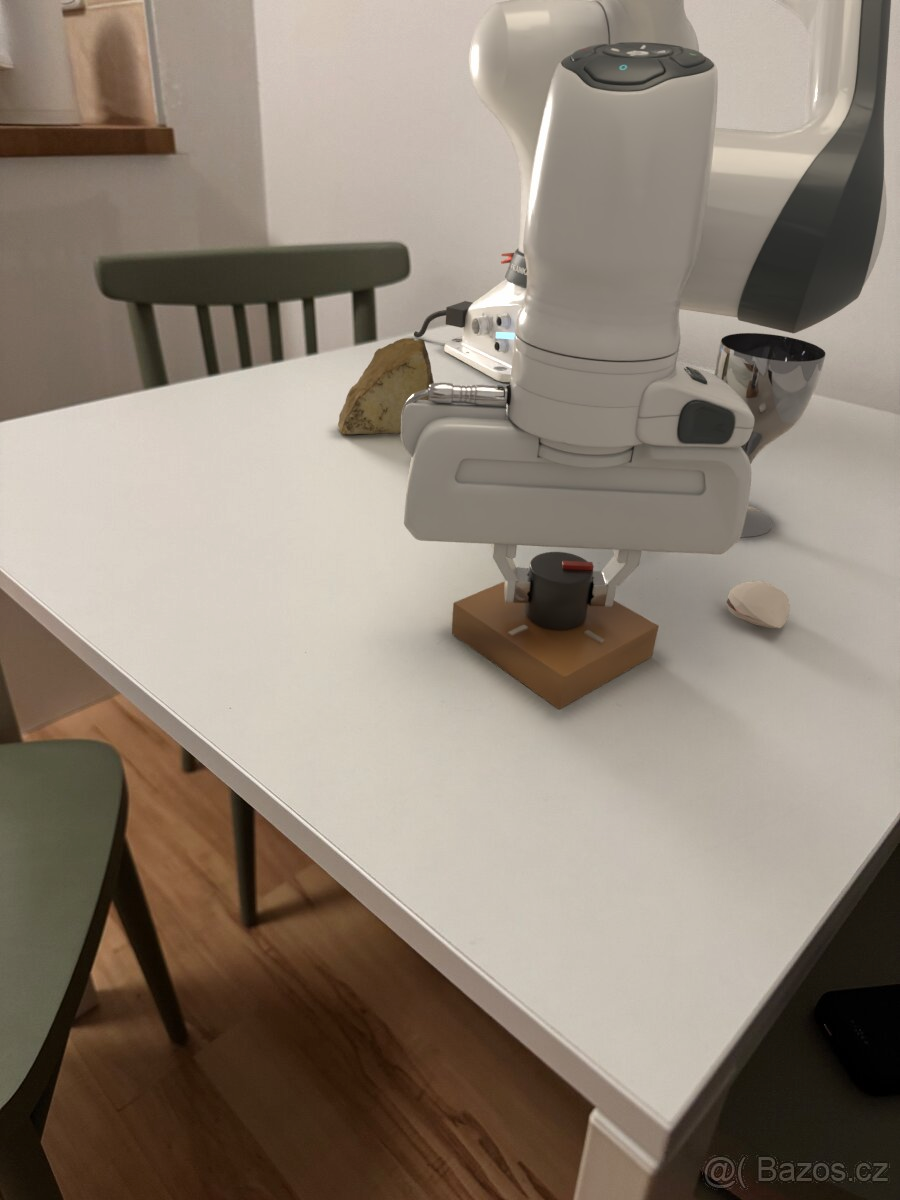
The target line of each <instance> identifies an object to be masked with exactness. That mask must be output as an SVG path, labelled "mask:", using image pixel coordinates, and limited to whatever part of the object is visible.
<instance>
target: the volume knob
mask: <svg viewBox="0 0 900 1200" xmlns="http://www.w3.org/2000/svg"><path fill="white" fill-rule="evenodd" d="M528 568H529V577H530V580H531V586H530V591H529V592H528V593H529V601H528V603H525V614H526V616H527V617H528V619H529V620H530V621H532V622H533V623H535V624H537V625H539V626H541V627H544V628H547V629H553V630H568V629H573V628H576V627H578V626H580V625H581V624H582V623H583V622H584V621H585V619H586V614H587V608H588V601H589V595H590V589H591V583H592V577H593V571H594V562H593V561H587V560H586V559H585V558H583V557H581V556H579V555H578V554H577V555H576V554H573V553H570V552H564V551H548V552H542V553H539V554H537V555H535V556H534V557H532V559H531V560H530V562H529V567H528Z"/></svg>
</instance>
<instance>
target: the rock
mask: <svg viewBox="0 0 900 1200" xmlns="http://www.w3.org/2000/svg"><path fill="white" fill-rule="evenodd" d="M433 383H435V382H434V377H433V372H432V364H431V360H430V357H429V352H428V350H427V347H426V342H425V340H424V339H422V338H421V339H415V338H413V337H411V338H409V337H404V338H399V339H397V340H395V341H394V342H392V343H389V344H387V345H386V346H383V347H381V348H378V349H376V351H375V352H374V354H373V357H372V359H371V360H370V363H368V365H367V367H366V368H365V369H364V371H363V372H362V375H361V376H360V377H359V378H358V381H357V382H356V383H355V384H354V385H352V387H351V388H349V391H348V393H347V395H346V397H345V402H344V404H343V407H342V409H341V411H340V413H339V415H338V422H337V427H338V429H339V432H340V434H341V435H377V434H401V414H402V409H403V406H404V404H405V403H406V401H407V400H408V399H409V398H410V397H411V396H412V395H413V394H415V393H417V392H419V391H422V390H426V389H429V385H430V384H433ZM419 400H427V401H429V397H424V398H421V399H419Z"/></svg>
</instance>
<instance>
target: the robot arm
mask: <svg viewBox="0 0 900 1200" xmlns="http://www.w3.org/2000/svg"><path fill="white" fill-rule="evenodd" d="M772 1H774V2H775V3H776V4H778V5H780V6H782V7H784V8H785V9H786V10H787V11H789V12H790V13H792V14H793V15H794V16H795V17H796V18H797V19H798V20H799V21H800V22H801V24H802V25H803V27H804V29H805V31H806V34H807V37H808V57H807V58H808V59H807V72H806V73H807V74H806V90H805V101H804V115H803V116H804V118H803V125H800V126H798V127H796V128H793V129H788V130H783V131H765V130H763V131H762V130H749V129H738V128H736V129H735V128H724V127H716V123H717V112H718V111H717V110H718V109H717V108H718V91H719V90H718V89H719V88H718V86H719V80H718V78H719V77H718V69H717V66H716V64H715V63H714V62H713V61H712V60H711V59H710V58H709V57H707V56H705V55H704V54H703V53H702V52H700V46H699V40H698V37H697V33H696V31H695V29H694V26H693V25H692V23H691V21H690V20H689V17H688V16H687V14H686V11H685V0H504V1H500V2H495V3H493V4H491V5H490V6H489V7H488V8H487V10H486V11H485V12H484V13H483V15H482V16H481V17H480V19H479V21H478V22H477V25H476V26H475V29H474V31H473V34H472V38H471V42H470V46H469V54H468V67H469V75H470V80H471V83H472V86H473V89H474V91H475V93H476V95H477V97H478V98H479V100H480V102H481V103H482V104H483V106H484V107H485V108H486V109H487V110H488V111H489V112H490V113H491V114H492V115H493V116H494V117H495V118H496V120H497V121H498V123H499V124H500V125H501V127H502V128H503V129H504V132H505V133H506V135H507V137H508V139H509V141H510V144H511V146H512V148H513V151H514V153H515V156H516V160H517V165H518V170H519V177H520V218H519V219H520V221H519V235H518V248H516V249H515V251H514V252H507V253H502V254H501V255H500V256H501V257H508V258H505V259H503V260H500V263H501V264H502V265H503V264H509V265H508V267H507V269H506V273H505V275H504V279H503V280H502V281H500V282H499V283H498V284H497V285H495V286H494V287H492V289H489V291H487V292H485V294H483V295H482V296H480V297H479V298H478V299H476V300H475V301H474V302H473V301H467V300H463V301H461V302H457V303H454V304H452V305H449V306H446V308H445V309H442V310H438V311H434V312H432V313H430V314H429V315H428V316H426V318H425V319H424V321H423V323H422V326H421V328H420V329H419V331H414V332H413V336H414V337H415V338H419V339H420V338H421V337H423V336H424V335H425V333H426V331H427V330H428V327H429V325H430V323H431V322H432V321H433V320H435V319H437V318H441V317H445V325H446V326H451V327H456V328H460V329H463V330H462V335H461V336H458V337H454V338H453V339H450V340H448V341H447V342H445V344H444V348H443V349H444V350H443V351H444V352H445V353H447V354H449V355H450V356H452V357H454V358H456V359H458V360H460V361H461V362H463V363H464V364H466V365H469V366H470V367H472V368H473V369H476V370H477V371H479V372H480V373H483V374H484V375H486V376H488V377H490V378H492V379H493V380H495V381H498V382H501V383H509V384H508V385H501V384H498V385H493V384H472V385H460V384H458V385H457V384H453V383H450V382H434V383H433V384H430V385H429V389H426V390H422V391H419V392H417V393H415V394H413V395H412V396H411V397H410V398H409V399H408V400H407V401H406V403H405V404H404V406H403V409H402V414H401V433H400V440H401V445H402V446H403V448H404V450H405V451H406V453H407V454H408V455H409V456H410V461H409V468H408V475H407V480H406V481H407V482H406V489H405V498H404V499H405V500H404V513H403V525H404V527H405V529H406V530H407V531H408V532H409V533H410V535H411V536H412V537H413V538H414V539H415V540H417V541H422V542H439V543H440V542H441V543H461V544H462V543H464V544H481V545H482V544H487V545H491V551H492V552H491V553H492V559H493V560H494V562H495V564H496V565H497V567H498V569H499V571H500V573H501V575H502V576H503V578H504V581H505V584H504V596H505V602H510V603H528V601H529V593H528V592H529V591H530V586H531V580H530V577H529V567H517V566H516V563H515V562H514V560H513V559H515V558H516V555H517V547H518V546H527V547H528V546H529V547H550V548H551V547H552V548H571V549H592V550H612V551H613V554H614V555H613V556H612V557H611V558H610V560H609V561H608V562H607V564H606V565H605V566H604V567H603V568H602V570H593V577H592V583H591V589H590V595H589V601H588V604H589V606H604V607H612V605H613V601H615V597H616V590H617V587H619V586H620V585H621V584H622V583H623V582H624V580H626V579H627V577H628V576H630V574H632V573H633V571H634V570H635V569H636V568H637V567H638V566H639V565H640V560H641V556H642V552H657V553H679V554H703V555H722V554H724V553H726V552H727V551H729V550H730V549H731V548H732V547H733V546H735V545H736V544H737V543H738V542H739V541H740V540H741V538H742V537H741V534H742V530H743V527H744V523H745V518H746V513H747V508H748V505H749V502H750V494H751V485H752V466H751V465H752V463H751V464H750V461H749V458H748V456H747V455H746V453H745V452H744V450H743V449H742V448H741V446H743V445H744V444H746V443H747V441H748V440H749V438H750V436H751V434H752V430H753V427H754V416H753V414H752V412H751V410H750V408H749V407H748V405H747V404H746V402H745V401H744V400H743V399H742V397H741V396H740V395H739V394H738V393H737V392H736V391H735V390H734V389H733V388H732V387H731V386H730V385H728V384H727V383H726V382H725V381H723V380H722V379H721V378H719V377H718V376H716V375H714V373H712V372H709V371H707V370H704V369H702V368H699V367H696V366H694V365H692V364H689V363H686V362H683V361H680V360H678V357H679V356H678V355H679V351H680V346H681V338H682V337H681V325H680V310H683V311H689V312H695V313H696V312H697V313H703V314H711V315H716V316H725V317H731V318H737V320H738V321H740V322H744V323H747V324H748V323H749V324H753V325H757V326H759V327H760V326H761V327H765V328H769V329H773V330H777V331H782V332H786V333H789V334H796V333H799V332H802V331H804V330H806V329H809V328H810V327H813V326H815V325H817V324H820V323H821V322H823V321H825V320H827V319H828V318H830V317H833V316H834V315H835V314H837V313H839V312H841V311H842V310H844V309H845V308H846V307H847V306H849V305H851V304H852V303H853V302H854V301H856V300H857V299H859V297H860V295H861V293H862V291H863V288H864V286H865V284H866V283H867V282H868V280H869V278H870V276H871V274H872V271H873V269H874V268H875V265H876V262H877V259H878V257H879V255H880V250H881V247H882V243H883V240H884V234H885V228H886V222H887V221H886V220H887V187H886V180H885V179H886V178H885V107H886V106H885V103H886V89H887V88H886V87H887V72H888V71H887V69H888V58H889V57H888V56H889V55H888V54H889V40H890V39H889V38H890V25H891V9H892V7H891V6H892V0H772ZM424 397H429V401H427V400H419V399H421V398H424Z"/></svg>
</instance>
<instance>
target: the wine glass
mask: <svg viewBox="0 0 900 1200" xmlns="http://www.w3.org/2000/svg"><path fill="white" fill-rule="evenodd" d="M825 360H826V352H825V350H824V349H823V348H822V347H820V346H818V345H816V344H814V343H812V342H809V341H805V340H801V339H798V338H794V337H789V336H785V335H778V334H771V333H758V332H742V333H741V332H740V333H732V334H728V335H724V336H723V337H722V338H721V339H720V342H719V347H718V350H717V355H716V361H715V362H716V363H715V367H714V373H713V374H714V375H716V376H718V377H719V378H721V379H722V380H723V381H725V382H726V383H727V384H728V385H730V386H731V387H732V388H733V389H734V390H735V391H736V392H737V393H738V394H739V395H740V396H741V397H742V399H743V400H744V401H745V402H746V404H747V405H748V407H749V408H750V410H751V412H752V414H753V416H754V427H753V430H752V434H751V436H750V438H749V440H748V441H747V443H746V444H744V445H743V446H741V448H742V449H743V450H744V452H745V453H746V455H747V456H748V458H749V461H750V464H751V465H752V463H753V461H754V460H755V458H756V456H757V455H758V454H759V453H760V452H761V451H762V450H763V449H765V448H766V446H768V445H769V444H771V443H772V442H774V441H776V439H778V438H779V437H781V436H783V435H784V434H786V433H787V432H788V431H789V430H791V429H792V428H793V427H794V426H795V425H796V424H797V423H798V422H799V420H800V419H801V417H802V416H803V414H804V413H805V411H806V409H807V407H808V405H809V404H810V401H811V400H812V397H813V395H814V393H815V392H816V391H815V390H816V388H817V385H818V382H819V379H820V377H821V374H822V370H823V366H824V363H825ZM771 529H772V520H771V518H770V517H769V516H768V515H767V514H766V513H764V511H762V510H760V509H758V508H755V507H754V506H752V505H749V504H748V508H747V513H746V518H745V523H744V527H743V530H742V534H741V537H740V538H746V537H747V538H751V537H758V536H761V535H764V534H767V533H768V532H769V531H771Z"/></svg>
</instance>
